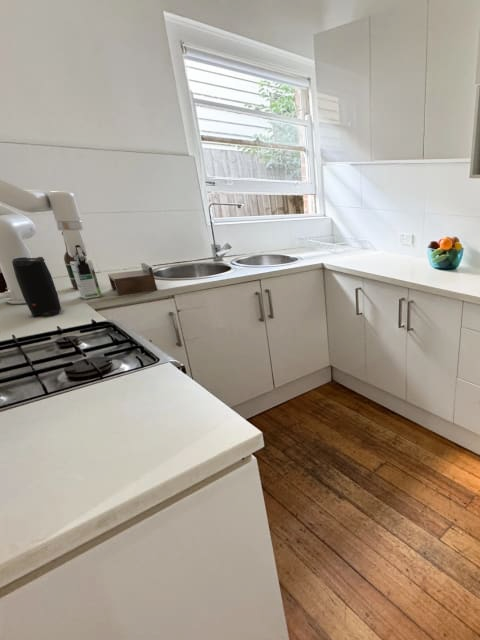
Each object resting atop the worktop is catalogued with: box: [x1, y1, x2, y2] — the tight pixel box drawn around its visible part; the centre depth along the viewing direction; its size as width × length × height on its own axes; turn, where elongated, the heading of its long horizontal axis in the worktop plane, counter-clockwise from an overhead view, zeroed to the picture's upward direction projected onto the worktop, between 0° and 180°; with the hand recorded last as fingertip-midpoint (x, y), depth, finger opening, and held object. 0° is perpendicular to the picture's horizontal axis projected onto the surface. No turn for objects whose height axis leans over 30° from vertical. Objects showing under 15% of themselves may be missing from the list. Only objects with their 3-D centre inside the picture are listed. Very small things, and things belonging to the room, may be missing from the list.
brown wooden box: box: [107, 262, 158, 296], centre depth 165 cm, size 14×13×10 cm
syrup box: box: [70, 259, 103, 300], centre depth 153 cm, size 6×6×14 cm
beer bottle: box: [61, 231, 88, 290], centre depth 164 cm, size 8×8×24 cm
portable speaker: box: [12, 256, 62, 318], centre depth 131 cm, size 9×9×20 cm
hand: (84, 272), depth 152 cm, fingers closed on syrup box, 6 cm apart
